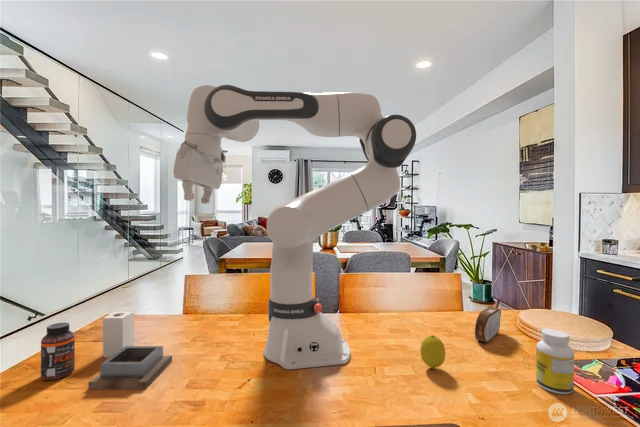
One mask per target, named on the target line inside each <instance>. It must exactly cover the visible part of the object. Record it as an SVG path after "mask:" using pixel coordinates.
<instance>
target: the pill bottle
mask: <svg viewBox="0 0 640 427" xmlns="http://www.w3.org/2000/svg"><path fill="white" fill-rule="evenodd" d="M541 338H542V340H539V341H538V342H537V343H536V358H535V360H536V364H535V365H536V366H535V370H536V371H535V372H536V374H535V380H536V383H537V385H538V386H539V387H541V388H542V389H544V390H545V391H548V392H550V393H554V394H558V395H569V394H571V393H573V392H574V390H575V389H574V388H575V386H574V384H575V382H574V380H575V378H574V377H575V376H574V375H575V351H574V349H573V348H572V347H571V346H570V345H569V343H570V334H568V333H567V332H564V331H562V330H559V329H555V328H554V329H553V328H544V329H542V330H541Z"/></svg>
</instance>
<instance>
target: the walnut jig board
mask: <svg viewBox="0 0 640 427" xmlns="http://www.w3.org/2000/svg"><path fill="white" fill-rule="evenodd" d="M141 361H142V360H135V361H126V362H141ZM172 362H173V355H163V359H162V360H161V361H160V362H159V363H158V364H157V365H156V366H155V367H154V368H153V369H152V370H151V371H150V372H149V373H148V374H147V375H146V376H145V377H144V378H100V373H98V374H97V375H96V376H95V377H93V378H92V379H91V380H89V381H88V384H87V385H88V388H87V389H88V390H147V389H148V388H149V387H150V386H151V385H152V384H153V383H154V382H155V380H157V378H158V377H159V376H160V375H161V374H162V373H163V372H164V371H165V370H166V369H167V368H168V367H169V366H170V364H171V363H172Z"/></svg>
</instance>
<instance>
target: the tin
mask: <svg viewBox="0 0 640 427" xmlns="http://www.w3.org/2000/svg"><path fill="white" fill-rule="evenodd" d="M501 316H502V312H501V309H499V308H497V307H493V306H490V305H489V306H488V307H487V308H485V309H483V310H482V311H480V312H479V313H478V316H477V318H476V322H475V326H474V337H475V340H476V341H480V342H483V343H489V342H490V341H491V340H492V339H494V338H495V337H496V336H497V335H498V333H499V331H500V328H501V318H502V317H501ZM496 334H497V335H496ZM495 335H496V336H495ZM494 336H495V337H494ZM491 338H492V339H491ZM490 339H491V340H490ZM489 340H490V341H489ZM488 341H489V342H488Z"/></svg>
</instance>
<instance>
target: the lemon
mask: <svg viewBox="0 0 640 427" xmlns="http://www.w3.org/2000/svg"><path fill="white" fill-rule="evenodd" d="M419 352H420V356H421V360H422V362H424V364H425V365H426V366H428V367H430V369H431V368H432V369H431V370H434V369H436V368H439V367H441V366H442V365H443V363H444V362H445V360H446V348H445V345H444V343H443V341H442V340H441V339H440V338H438V336H435V335H434V334H431V335H429V336H426V337H424V338H423V340H422V341H421V345H420V351H419Z"/></svg>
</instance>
